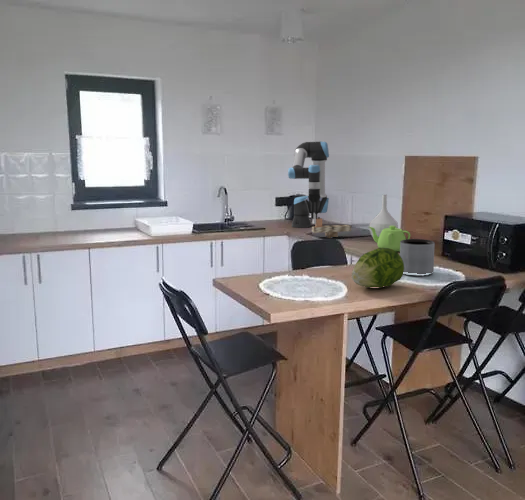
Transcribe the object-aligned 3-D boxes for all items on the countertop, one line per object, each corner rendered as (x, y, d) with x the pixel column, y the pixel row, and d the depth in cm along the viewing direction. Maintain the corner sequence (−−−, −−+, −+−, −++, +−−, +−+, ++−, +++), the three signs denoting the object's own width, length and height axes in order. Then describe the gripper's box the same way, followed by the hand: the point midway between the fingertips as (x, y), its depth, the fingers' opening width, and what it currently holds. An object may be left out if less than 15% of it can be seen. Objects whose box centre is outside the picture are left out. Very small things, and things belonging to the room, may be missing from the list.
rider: (316, 229, 350) (316, 217, 349) (315, 228, 353) (315, 216, 352) (322, 229, 351) (322, 217, 349) (320, 228, 354) (320, 216, 352)
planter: (431, 270, 257) (433, 239, 254) (434, 277, 241) (436, 245, 238) (398, 268, 260) (399, 238, 257) (399, 276, 245) (400, 244, 242)
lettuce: (341, 286, 231) (341, 251, 223) (382, 272, 240) (384, 238, 233) (367, 303, 217) (368, 266, 209) (409, 287, 226) (411, 251, 219)
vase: (400, 239, 342) (402, 193, 336) (393, 243, 326) (395, 196, 321) (373, 237, 351) (374, 193, 345) (365, 241, 335) (366, 195, 329)
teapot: (414, 251, 303) (415, 226, 301) (385, 254, 296) (386, 229, 293) (394, 245, 320) (395, 222, 318) (367, 248, 313) (367, 225, 310)
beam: (314, 238, 349) (314, 227, 347) (311, 237, 356) (311, 226, 355) (351, 237, 353) (351, 226, 352) (347, 235, 361) (347, 224, 359)
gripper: (306, 189, 341) (306, 224, 346) (325, 188, 344) (325, 223, 348) (303, 188, 349) (303, 223, 353) (322, 187, 351) (321, 222, 355)
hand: (314, 223), depth 351 cm, fingers closed
